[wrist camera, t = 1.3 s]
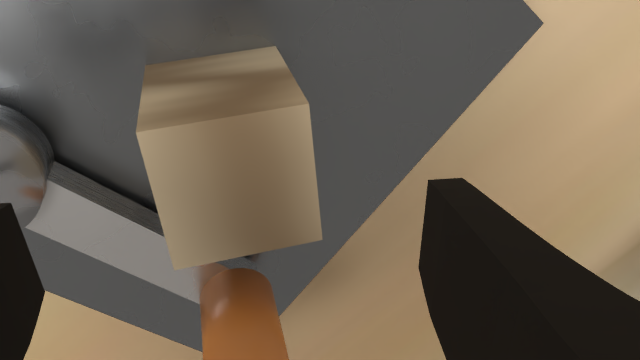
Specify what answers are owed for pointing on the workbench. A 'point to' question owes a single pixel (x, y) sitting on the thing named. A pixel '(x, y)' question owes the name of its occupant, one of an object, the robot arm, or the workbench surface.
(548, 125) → the workbench surface
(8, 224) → the robot arm
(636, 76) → the workbench surface
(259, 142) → the block
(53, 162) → the crank
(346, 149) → the crank base
